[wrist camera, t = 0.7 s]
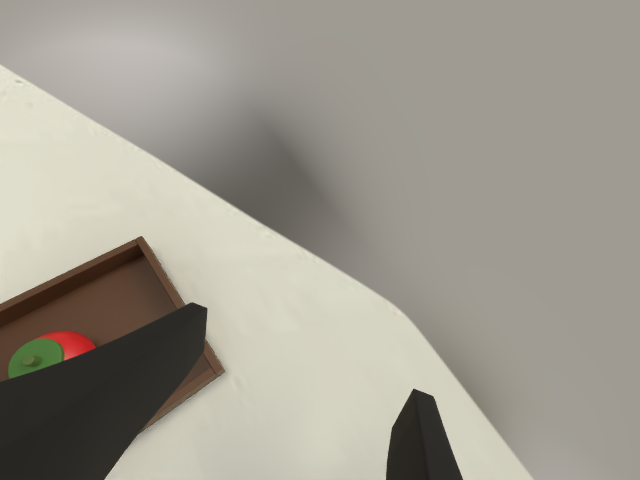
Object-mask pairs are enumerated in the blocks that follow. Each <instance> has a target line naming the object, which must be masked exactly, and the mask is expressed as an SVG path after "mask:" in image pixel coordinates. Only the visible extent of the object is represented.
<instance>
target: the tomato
mask: <svg viewBox="0 0 640 480" xmlns="http://www.w3.org/2000/svg"><path fill="white" fill-rule="evenodd" d="M95 348H96V347H95V345H94V344H93V343H92V341H91V340H90V339H89V338H87V337H86V336H84V335H82V334H80V333H77V332H73V331H56V332H51V333H47V334H44V335H42V336H40V337H38V338H36V339H34V340H33V341H30V342H28V343H26V344H25V345H23V346H22V347H20V348H19V349H18V350H17V351H16V352H15V354H14V355H13V356H12V358H11V360H10V362H9V366H8V375H9V377H10V379H11V378H14V377H17V376H20V375H24V374H27V373H30V372H33V371H36V370H39V369H42V368H45V367H48V366H51V365H53V364H56V363H59V362H62V361H65V360H67V359H70V358H72V357H75V356H78V355H80V354H83V353H85V352H87V351H90V350H92V349H95Z"/></svg>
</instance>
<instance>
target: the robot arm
mask: <svg viewBox="0 0 640 480" xmlns="http://www.w3.org/2000/svg"><path fill="white" fill-rule="evenodd" d="M206 322H207V308H205V307H203V306H200V305H198V304H195V303H189V304H187V305H185V306H183V307H181V308H179V309H177V310H175V311H173V312H171V313H169V314H167V315H165V316H163V317H161V318H159V319H157V320H155V321H153V322H151V323H149V324H147V325H145V326H143V327H141V328H139V329H137V330H135V331H132V332H130V333H128V334H126V335H124V336H122V337H120V338H117V339H115V340H113V341H111V342H108V343H106V344H104V345H101V346H99V347H97V348H95V349H92V350H90V351H87V352H85V353H83V354H80V355H78V356H75V357H72V358H70V359H67V360H65V361H62V362H59V363H56V364H53V365H51V366H48V367H45V368H42V369H39V370H36V371H33V372H30V373H27V374H24V375H20V376H17V377H14V378H11V379H7V380H4V381H1V382H0V480H104V479H105V478H106V476H107V475H108V474H109V472H110V471H111V469H112V468H113V467H114V465H115V464H116V462H117V461H118V460H119V458H120V457H121V456H122V454H123V453H124V451H125V450H126V449H127V448H128V446H129V445H130V444H131V442H132V441H133V440H134V439H135V437H136V436H137V435H138V434H139V433H140V431H141V430H142V429H143V428H144V427H145V426H146V424H147V423H148V422H149V421H150V420H151V419H152V417H153V416H154V415H155V414H156V413H157V412H158V410H159V409H160V408H161V407H162V406H163V404H164V403H165V402H166V401H167V400H168V399H169V397H170V396H171V395H172V394H173V393H174V392H175V390H176V389H177V388H178V387H179V386H180V384H181V383H182V382H183V381H184V380H185V378H186V377H187V376H188V374H189V373H190V371H191V370H192V368H193V367H194V366H195V364H196V362H197V361H198V359H199V358H200V356H201V355H202V353H203V352H204V349H205V335H206ZM386 480H463V478H462V476H461V473H460V470H459V468H458V465H457V463H456V460H455V457H454V455H453V452H452V449H451V446H450V444H449V441H448V438H447V435H446V432H445V429H444V426H443V423H442V420H441V417H440V414H439V411H438V408H437V405H436V402H435V399H434V397H433V396H431V395H429V394H426V393H424V392H421V391H418V390H416V389H413V391H412V392H411V394H410V396H409V398H408V400H407V401H406V403H405V405H404V407H403V409H402V411H401V412H400V414H399V416H398V418H397V420H396V422H395V423H394V425H393V427H392V432H391V438H390V445H389V452H388V459H387V472H386Z"/></svg>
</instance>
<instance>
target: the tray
mask: <svg viewBox="0 0 640 480" xmlns="http://www.w3.org/2000/svg"><path fill="white" fill-rule="evenodd" d="M183 306H185V304H184V302H183V301H182V299H181V297H180V296H179V294H178V292H177V291H176V289H175V287H174V286H173V284H172V282H171V281H170V279H169V278H168V276H167V274H166V273H165V271H164V269H163V268H162V266H161V264H160V263H159V261H158V259H157V258H156V256H155V254H154V253H153V251H152V250H151V248H150V246H149V245H148V244H147V242H146V241H145V239H144V238H143V237H142V236H140V237H138V238H136V239H134V240H132V241H130V242H128V243H126V244H124V245H122V246H120V247H118V248H115V249H113V250H111V251H109V252H107V253H105V254H103V255H101V256H99V257H97V258H95V259H93V260H91V261H89V262H86V263H84V264H82V265H80V266H78V267H76V268H74V269H72V270H70V271H68V272H66V273H64V274H62V275H60V276H57V277H55V278H53V279H51V280H49V281H47V282H45V283H43V284H41V285H39V286H37V287H35V288H33V289H30V290H28V291H26V292H24V293H22V294H20V295H18V296H16V297H14V298H12V299H10V300H8V301H6V302H4V303H1V304H0V382H1V381H4V380H7V379H10V377H9V375H8V366H9V362H10V360H11V358H12V356H13V355H14V354H15V352H16V351H17V350H18V349H19V348H20V347H22V346H23V345H25V344H26V343H28V342H30V341H33V340H34V339H36V338H38V337H40V336H42V335H44V334H47V333H51V332H56V331H73V332H77V333H80V334H82V335H84V336H86V337H87V338H89V339H90V340H91V341H92V343H93V344H94V345H95V347H96V348H97V347H99V346H101V345H104V344H106V343H108V342H111V341H113V340H115V339H117V338H120V337H122V336H124V335H126V334H128V333H130V332H132V331H135V330H137V329H139V328H141V327H143V326H145V325H147V324H149V323H151V322H153V321H155V320H157V319H159V318H161V317H163V316H165V315H167V314H169V313H171V312H173V311H175V310H177V309H179V308H181V307H183ZM224 372H225V370H224V368H223V366H222V365H221V363H220V361H219V360H218V358H217V357H216V355H215V353H214V352H213V350H212V348H211V347H210V345H209V343H208V342H207V340H206V338H205V349H204V352H203V353H202V355H201V356H200V358H199V359H198V361H197V362H196V364H195V366H194V367H193V368H192V370H191V371H190V373H189V374H188V376H187V377H186V378H185V380H184V381H183V382H182V383H181V384H180V386H179V387H178V388H177V389H176V390H175V392H174V393H173V394H172V395H171V396H170V397H169V399H168V400H167V401H166V402H165V403H164V404H163V406H162V407H161V408H160V409H159V410H158V412H157V413H156V414H155V415H154V416H153V417H152V419H151V420H150V421H149V422H148V423H147V424H146V426H145V427H144V428H143V429H142V430H141V431H140V433H141V432H142V431H143V430H145V429H146V428H148V427H149V426H150V425H152V424H153V423H155V422H156V421H157V420H159V419H160V418H162V417H163V416H164V415H166V414H167V413H168V412H170V411H171V410H173V409H174V408H175V407H177V406H178V405H180V404H181V403H182V402H184V401H185V400H186V399H188V398H189V397H191V396H192V395H193V394H195V393H196V392H198V391H199V390H200V389H202V388H203V387H204V386H206V385H207V384H209V383H210V382H211V381H213V380H214V379H216V378H217V377H218V376H220V375H221V374H223V373H224Z"/></svg>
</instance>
